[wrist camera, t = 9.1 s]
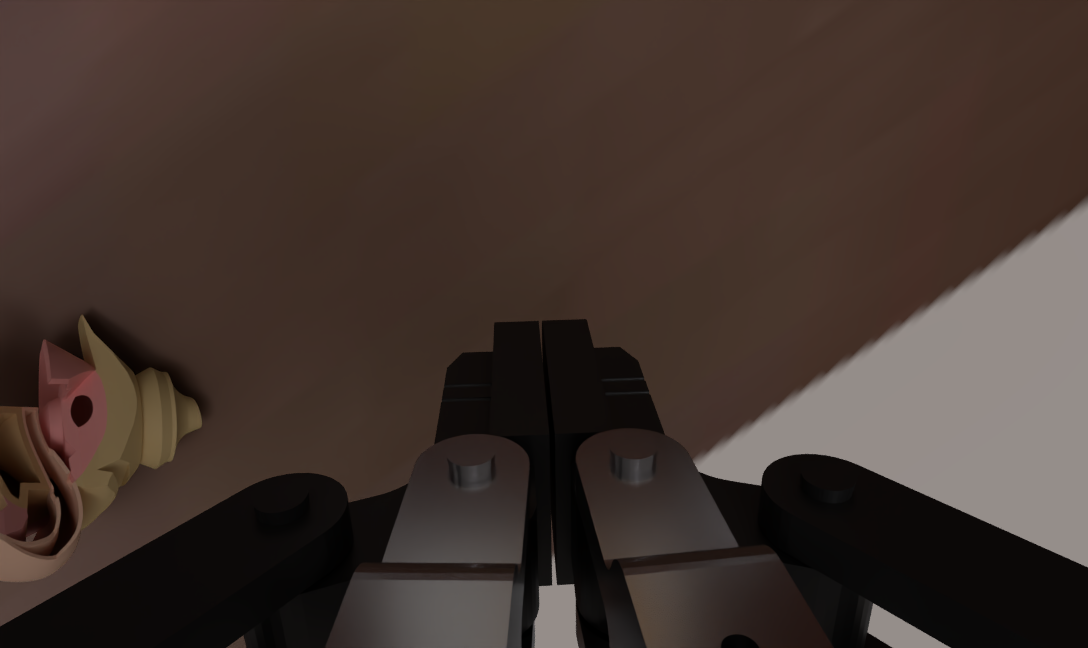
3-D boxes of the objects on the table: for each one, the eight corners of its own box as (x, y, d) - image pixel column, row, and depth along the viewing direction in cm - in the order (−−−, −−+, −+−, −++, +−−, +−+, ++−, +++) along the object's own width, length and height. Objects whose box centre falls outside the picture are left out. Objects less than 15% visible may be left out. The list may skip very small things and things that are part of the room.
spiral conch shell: (199, 282, 30) (238, 512, 26) (160, 389, 37) (187, 583, 33) (-105, 280, 24) (-108, 573, 20) (-82, 407, 31) (-82, 642, 28)
